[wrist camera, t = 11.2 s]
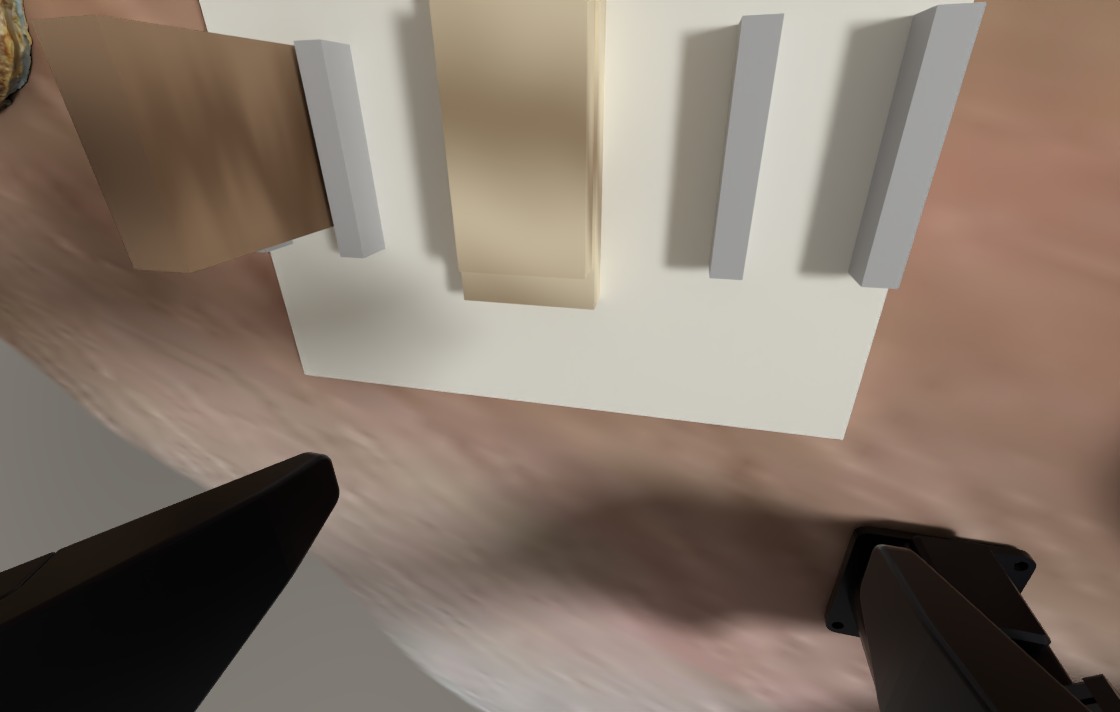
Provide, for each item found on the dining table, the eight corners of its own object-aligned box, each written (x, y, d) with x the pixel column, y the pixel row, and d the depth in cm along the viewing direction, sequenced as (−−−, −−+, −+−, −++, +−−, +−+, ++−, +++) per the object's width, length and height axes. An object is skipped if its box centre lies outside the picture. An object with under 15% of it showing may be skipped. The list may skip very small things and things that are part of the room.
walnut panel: (345, 222, 20) (189, 273, 14) (302, 220, 20) (134, 269, 14) (308, 47, 17) (95, 14, 11) (260, 50, 18) (29, 19, 11)
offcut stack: (599, 298, 19) (587, 322, 16) (476, 289, 20) (450, 311, 18) (607, -32, 14) (591, -56, 12) (447, -19, 15) (407, -38, 13)
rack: (836, 425, 20) (854, 464, 17) (318, 365, 25) (282, 389, 23) (1056, -343, 11) (1149, -459, 8) (173, -180, 16) (91, -225, 14)
